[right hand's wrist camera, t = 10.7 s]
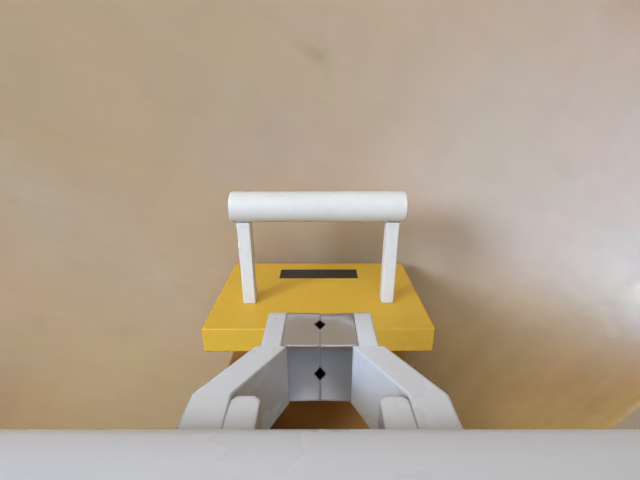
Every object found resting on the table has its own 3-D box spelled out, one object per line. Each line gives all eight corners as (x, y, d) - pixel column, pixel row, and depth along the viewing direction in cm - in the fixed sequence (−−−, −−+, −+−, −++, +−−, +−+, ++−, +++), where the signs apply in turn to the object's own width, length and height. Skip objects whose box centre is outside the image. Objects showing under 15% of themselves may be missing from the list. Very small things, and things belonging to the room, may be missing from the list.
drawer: (227, 173, 19) (182, 206, 13) (409, 173, 19) (452, 205, 13) (253, 443, 27) (233, 547, 21) (385, 443, 27) (405, 547, 21)
